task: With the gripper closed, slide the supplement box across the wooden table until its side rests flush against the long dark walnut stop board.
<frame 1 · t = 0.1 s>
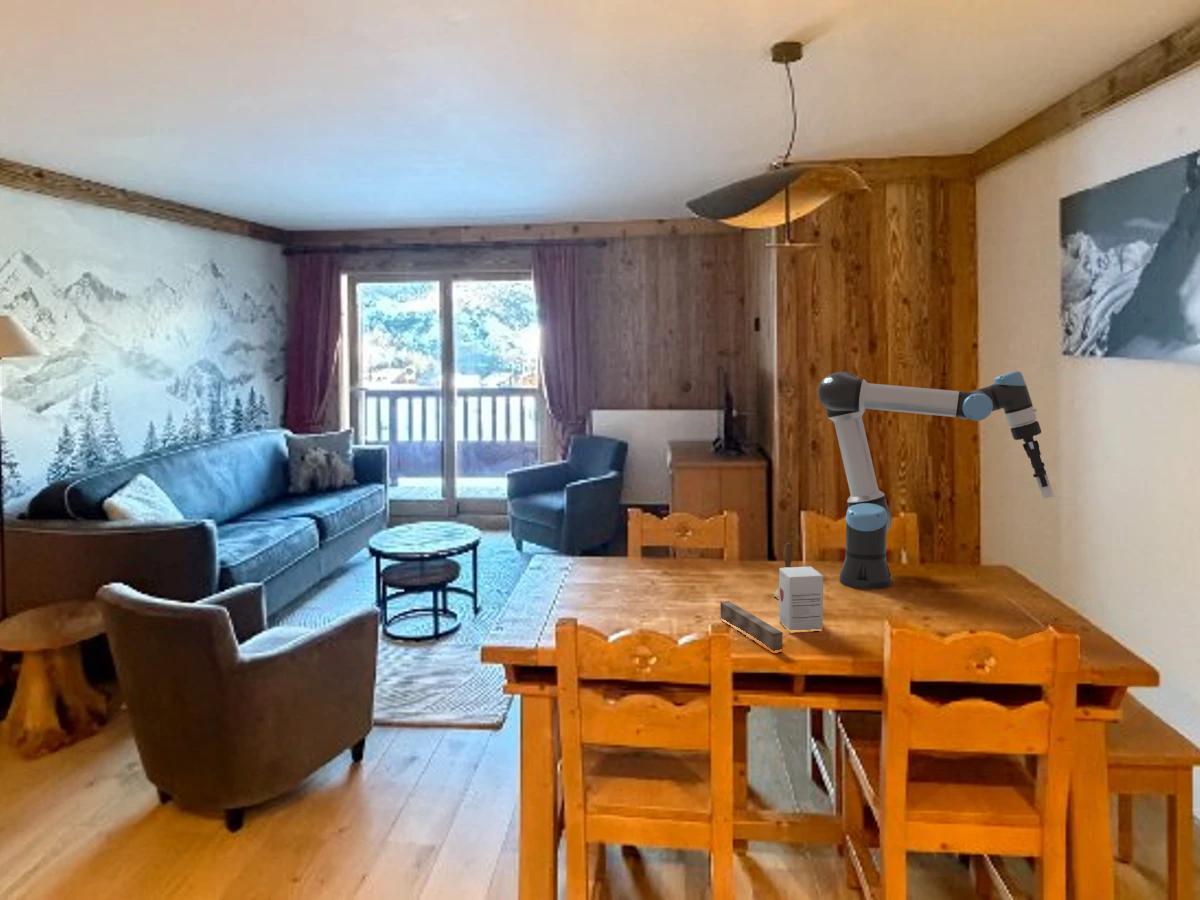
hand: (1046, 493, 233), 28 cm above the table, tool tilted 20°, fingers open, 13 cm apart
supplement box: (800, 627, 207), on the table
hand bell: (787, 597, 233), on the table
stop board: (749, 635, 202), on the table
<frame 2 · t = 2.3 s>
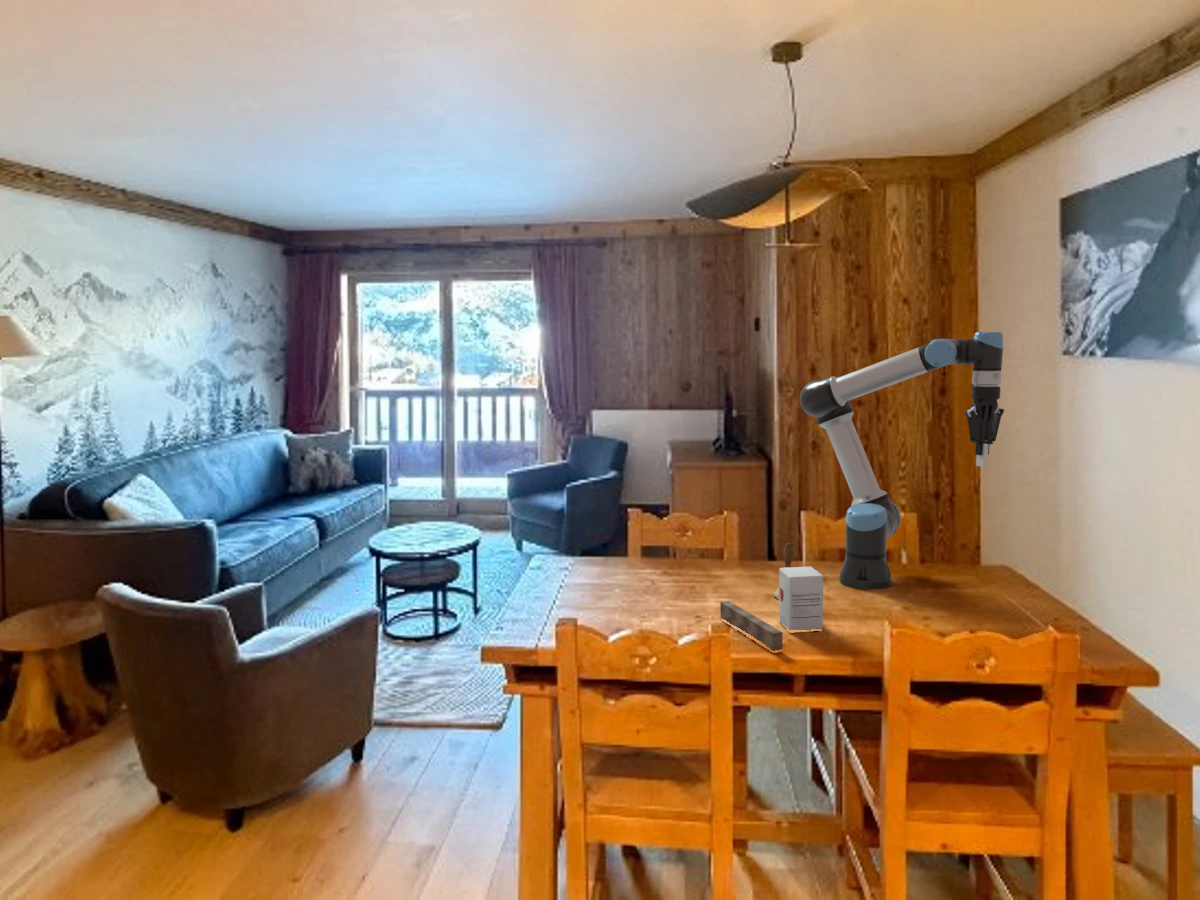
hand: (981, 465, 234), 36 cm above the table, tool pointing down, fingers closed
nothing on the table moved.
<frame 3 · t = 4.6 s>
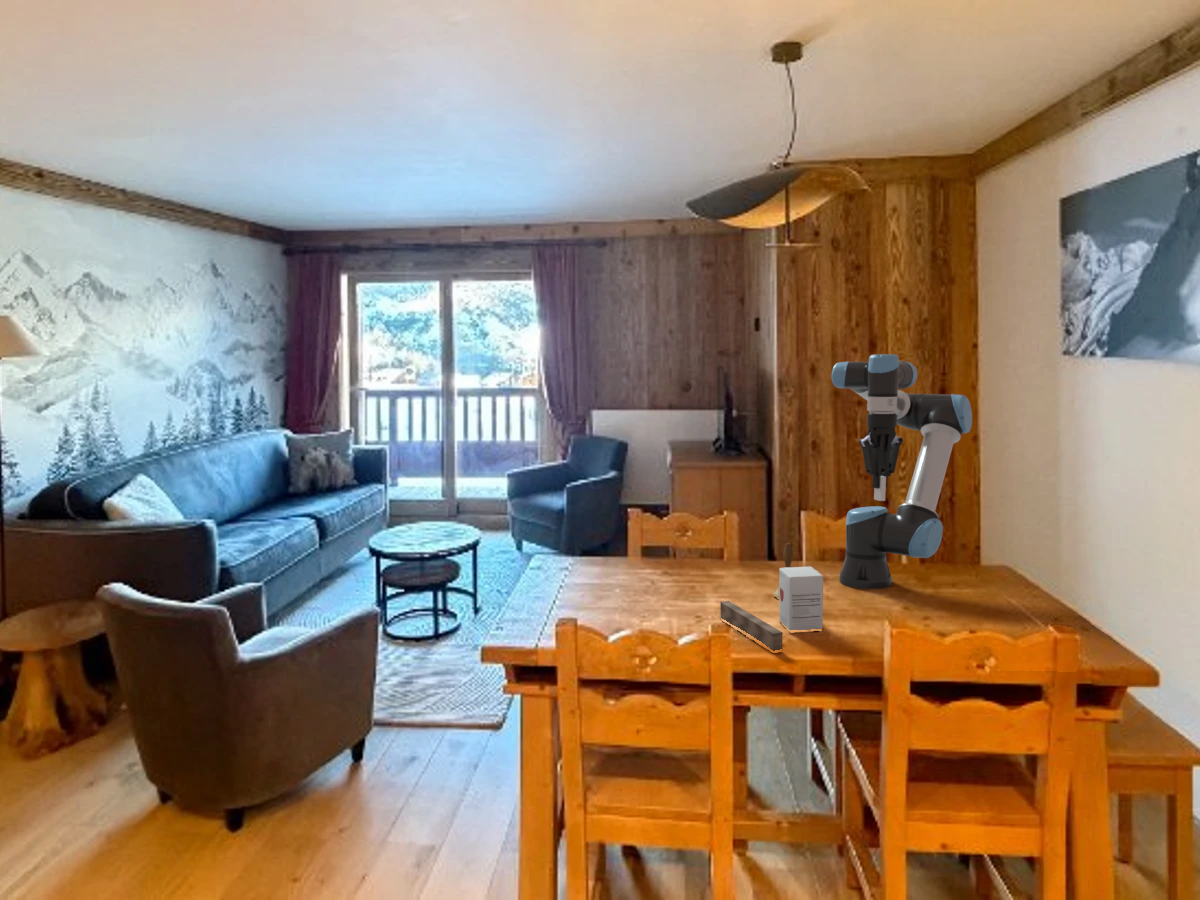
hand: (879, 499, 215), 31 cm above the table, tool pointing down, fingers closed
nothing on the table moved.
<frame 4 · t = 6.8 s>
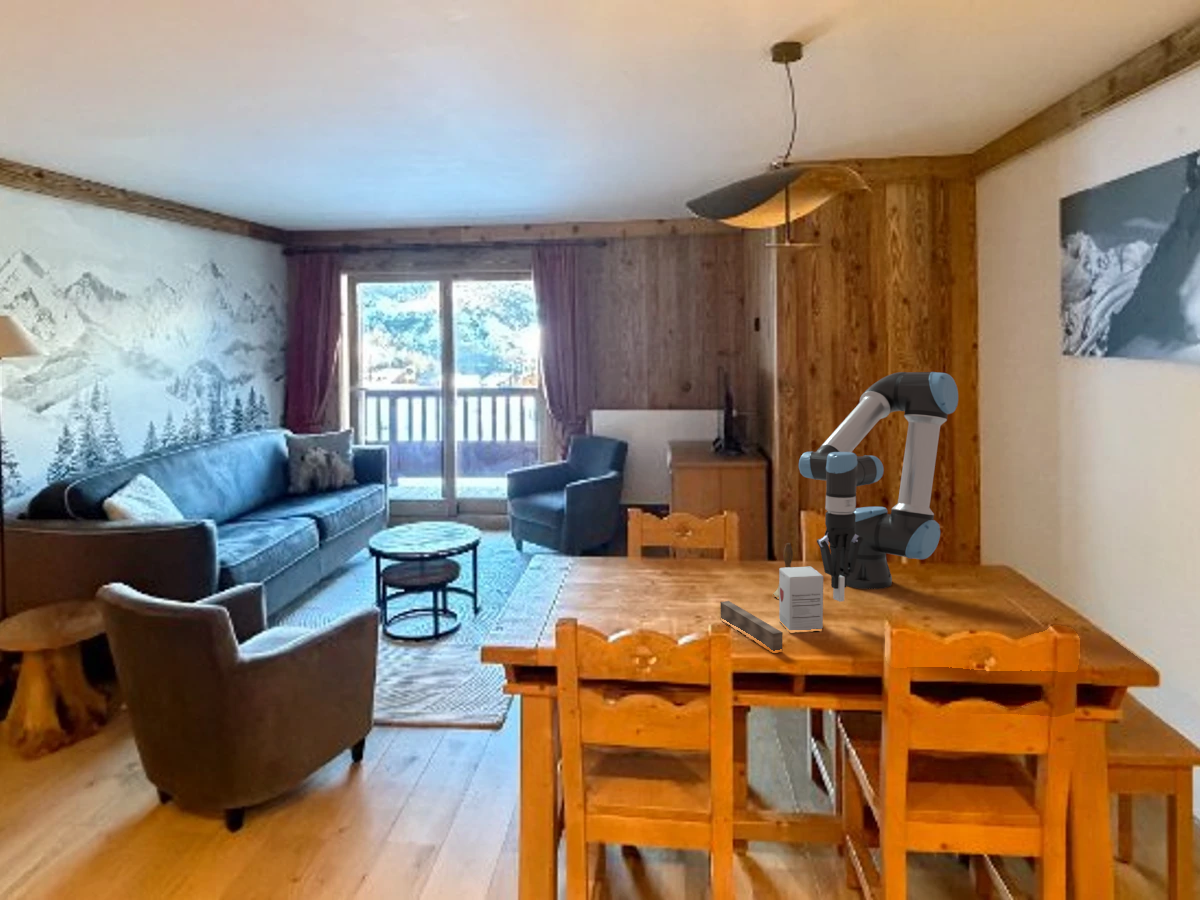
hand: (838, 599, 210), 6 cm above the table, tool pointing down, fingers closed
nothing on the table moved.
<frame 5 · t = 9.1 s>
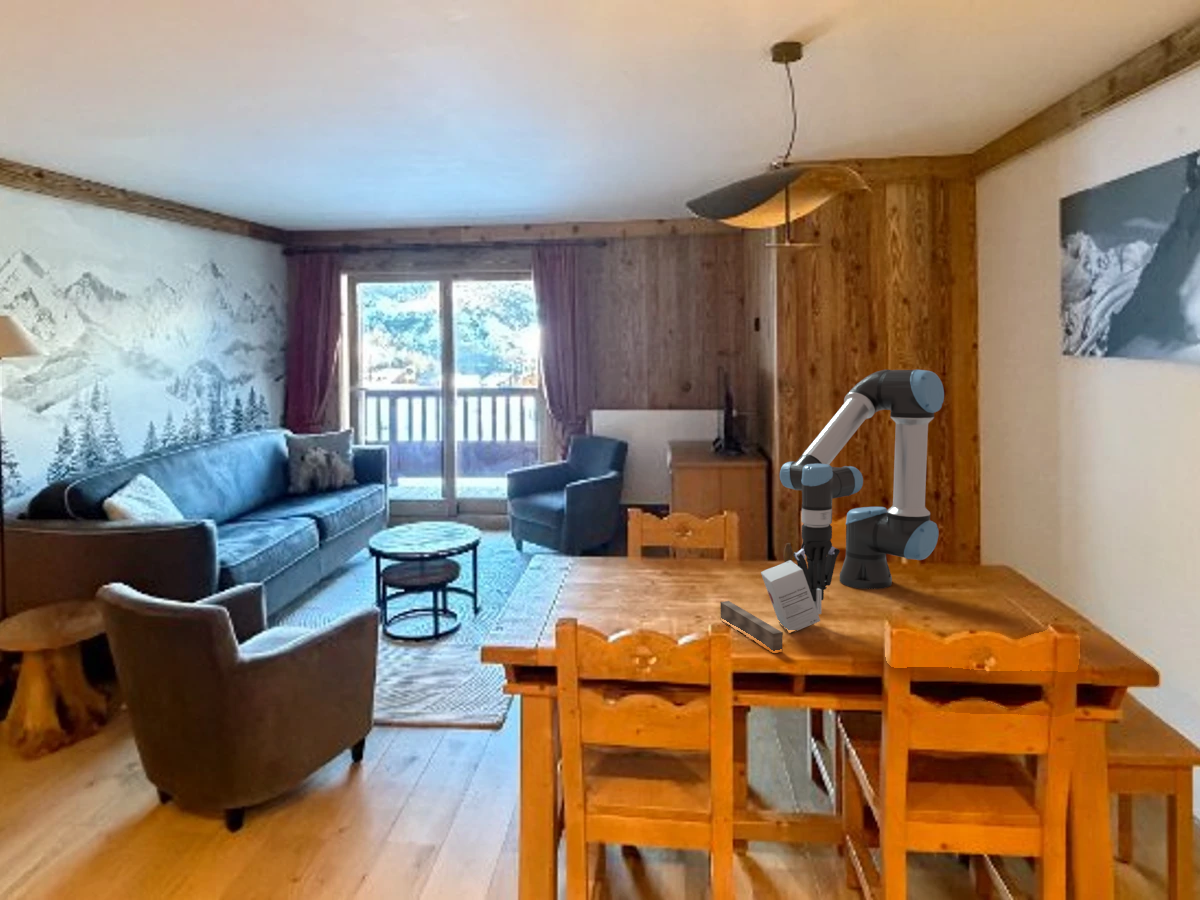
hand: (816, 612, 209), 3 cm above the table, tool pointing down, fingers closed
supplement box: (799, 622, 207), point 1 cm above the table, touching gripper, hand
everything else where it was.
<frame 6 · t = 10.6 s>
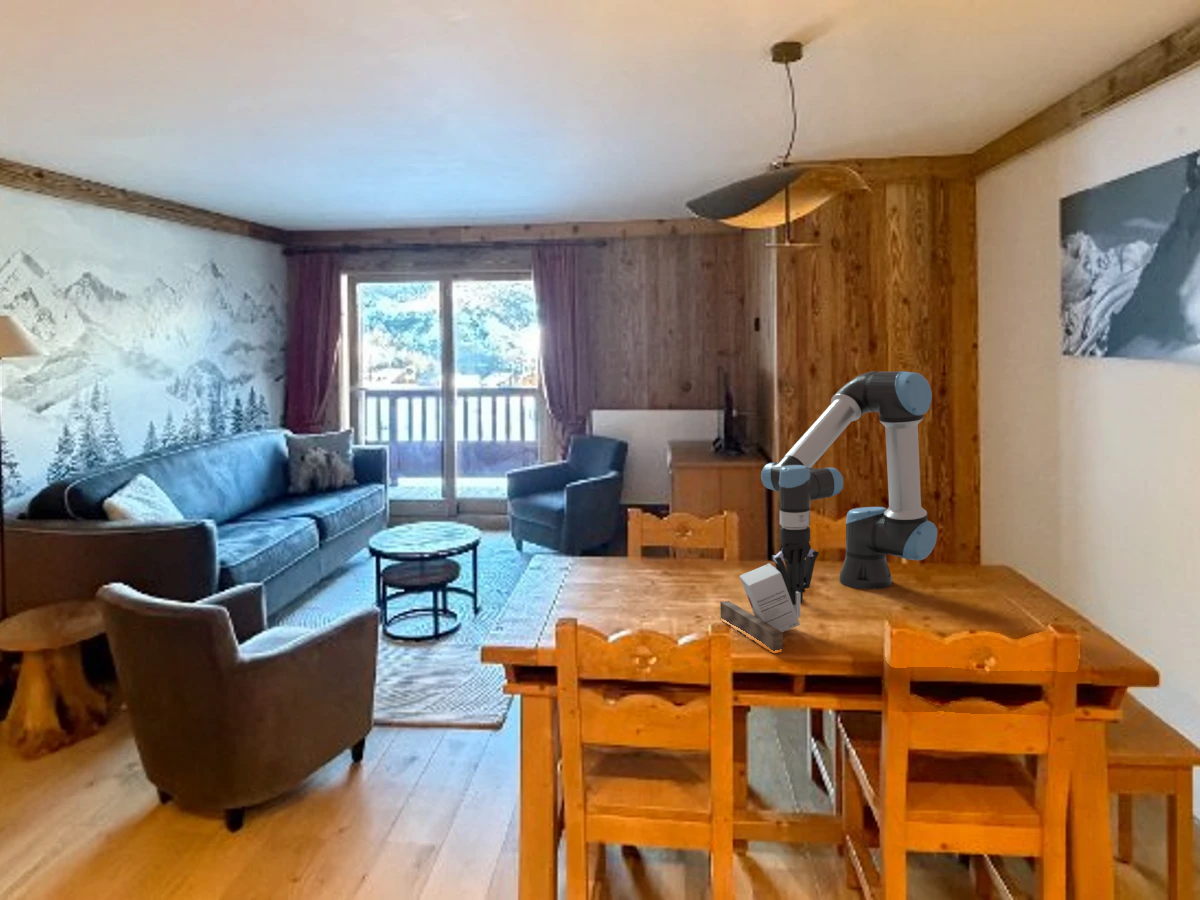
hand: (795, 615, 206), 3 cm above the table, tool pointing down, fingers closed
supplement box: (779, 626, 205), point 1 cm above the table, touching gripper, hand
everything else where it was.
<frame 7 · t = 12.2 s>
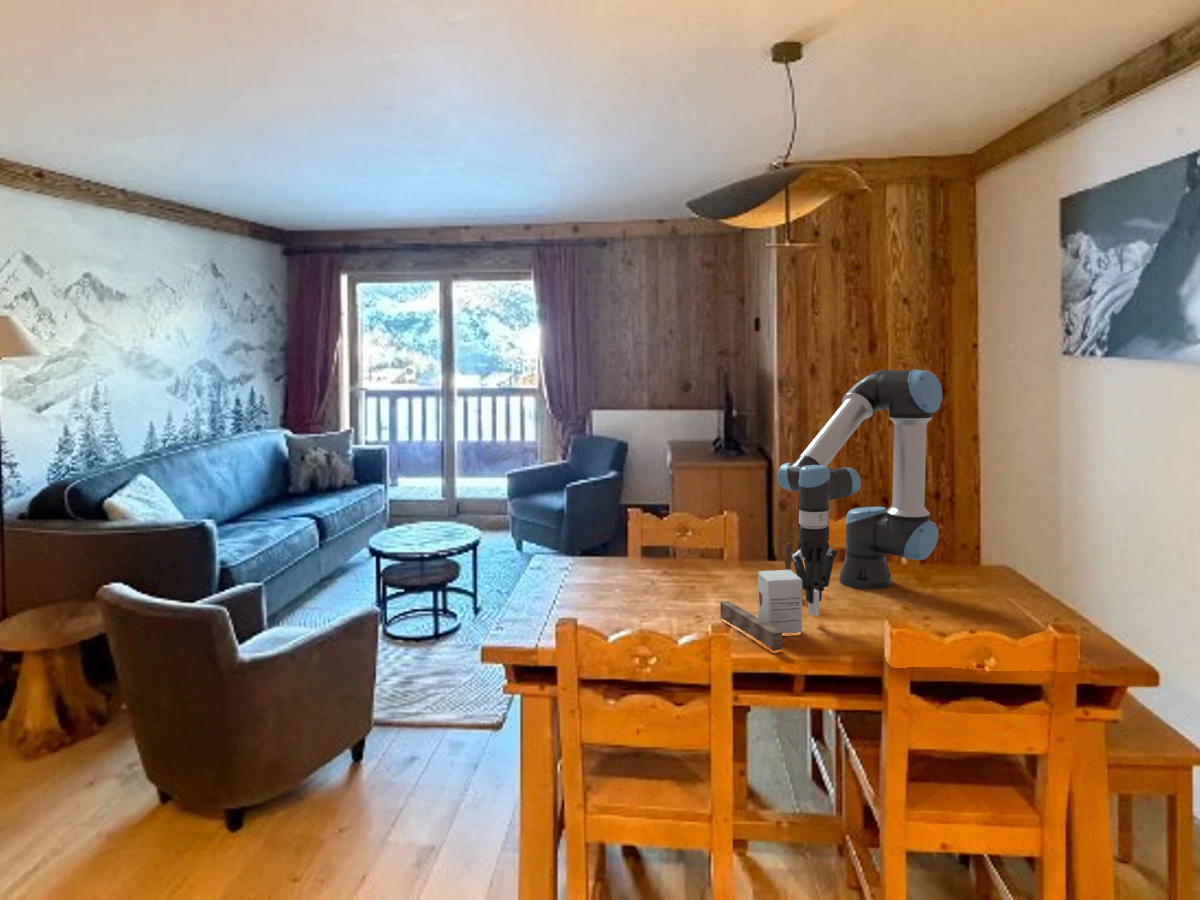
hand: (813, 614, 208), 3 cm above the table, tool pointing down, fingers closed
supplement box: (779, 632, 205), on the table
everything else where it was.
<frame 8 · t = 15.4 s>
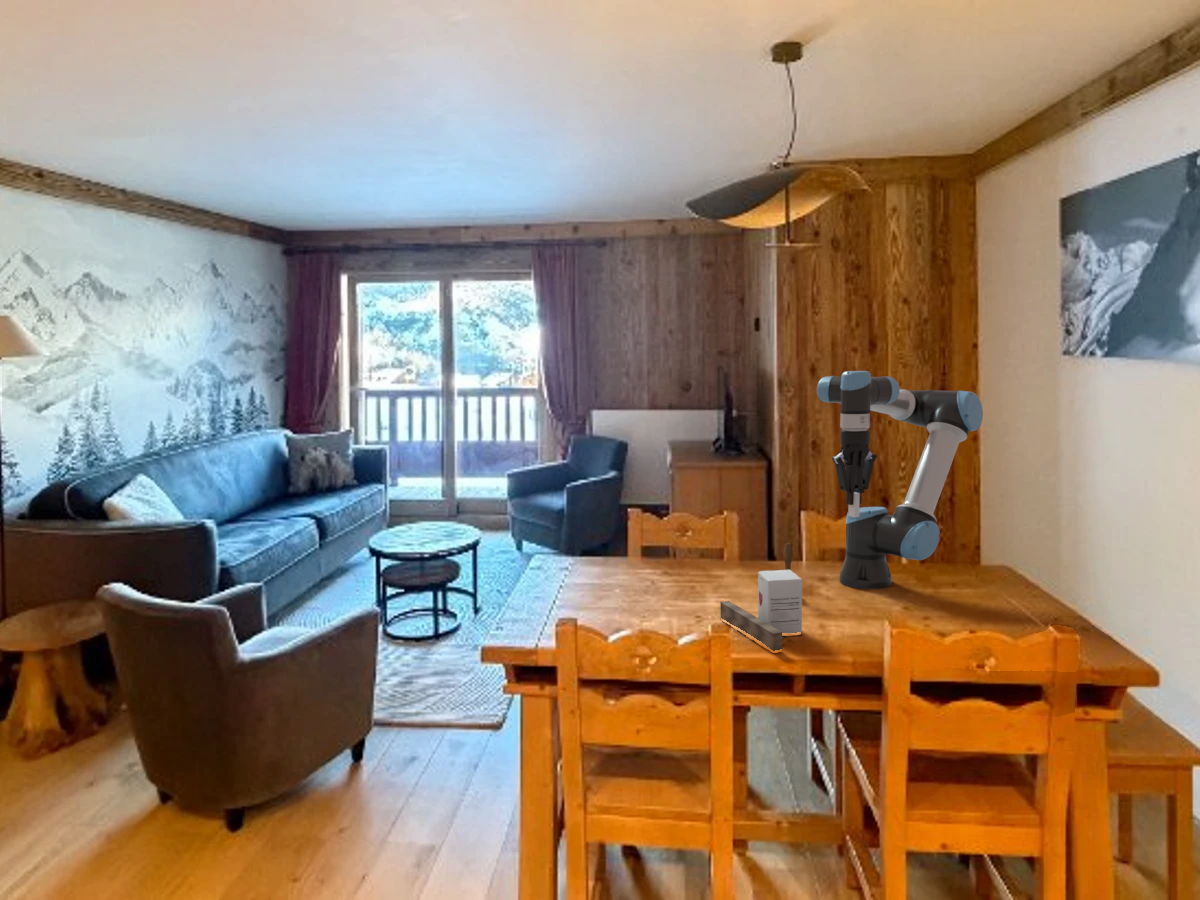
hand: (853, 516, 215), 26 cm above the table, tool pointing down, fingers closed
nothing on the table moved.
at the end: supplement box inside the target area on the table beside the stop board (1.3 cm from its centre), on the table; supplement box tilted 0° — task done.
